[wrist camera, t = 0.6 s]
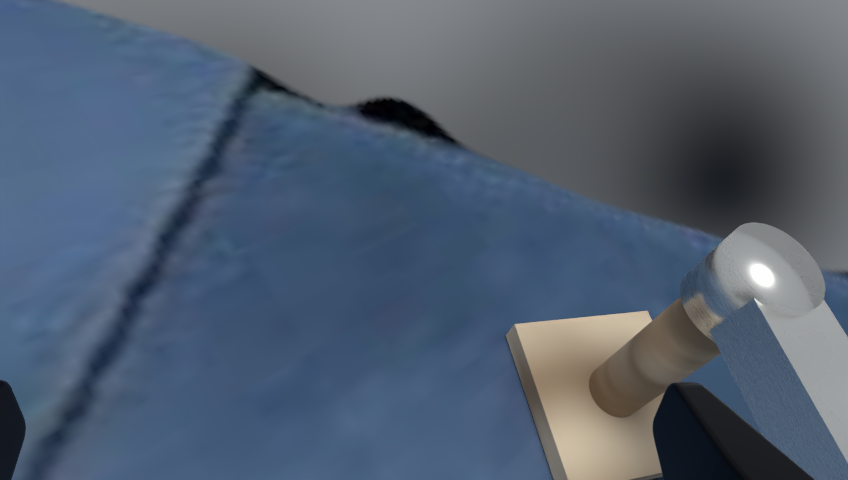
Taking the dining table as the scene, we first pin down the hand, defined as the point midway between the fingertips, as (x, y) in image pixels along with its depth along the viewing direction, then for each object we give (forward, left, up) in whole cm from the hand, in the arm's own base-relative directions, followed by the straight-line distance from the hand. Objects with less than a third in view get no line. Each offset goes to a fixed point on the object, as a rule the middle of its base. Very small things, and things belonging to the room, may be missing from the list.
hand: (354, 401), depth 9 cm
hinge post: (+5, -17, -19) cm, 26 cm away
